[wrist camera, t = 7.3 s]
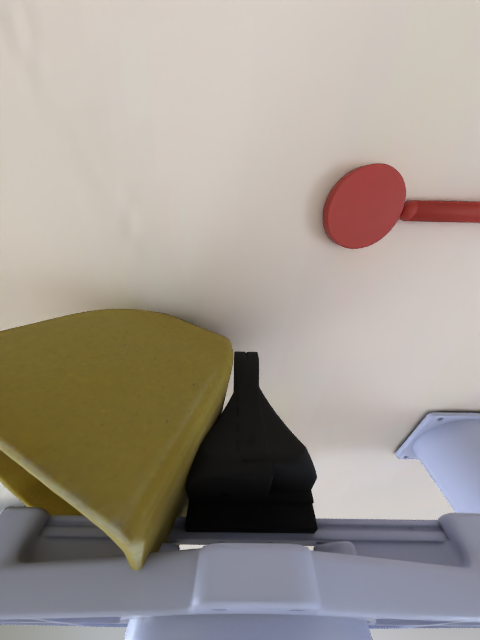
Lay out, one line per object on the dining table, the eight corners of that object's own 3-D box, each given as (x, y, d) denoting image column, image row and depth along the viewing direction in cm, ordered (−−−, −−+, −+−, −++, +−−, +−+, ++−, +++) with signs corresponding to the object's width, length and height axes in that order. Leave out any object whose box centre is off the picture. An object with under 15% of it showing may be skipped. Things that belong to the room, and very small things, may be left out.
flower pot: (138, 274, 13) (-131, 355, 5) (269, 320, 11) (127, 561, 3) (147, 373, 17) (8, 491, 10) (241, 419, 15) (153, 615, 8)
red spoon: (619, 171, 10) (652, 168, 9) (555, 250, 11) (578, 254, 11) (332, 164, 9) (340, 161, 9) (315, 245, 11) (321, 249, 10)
